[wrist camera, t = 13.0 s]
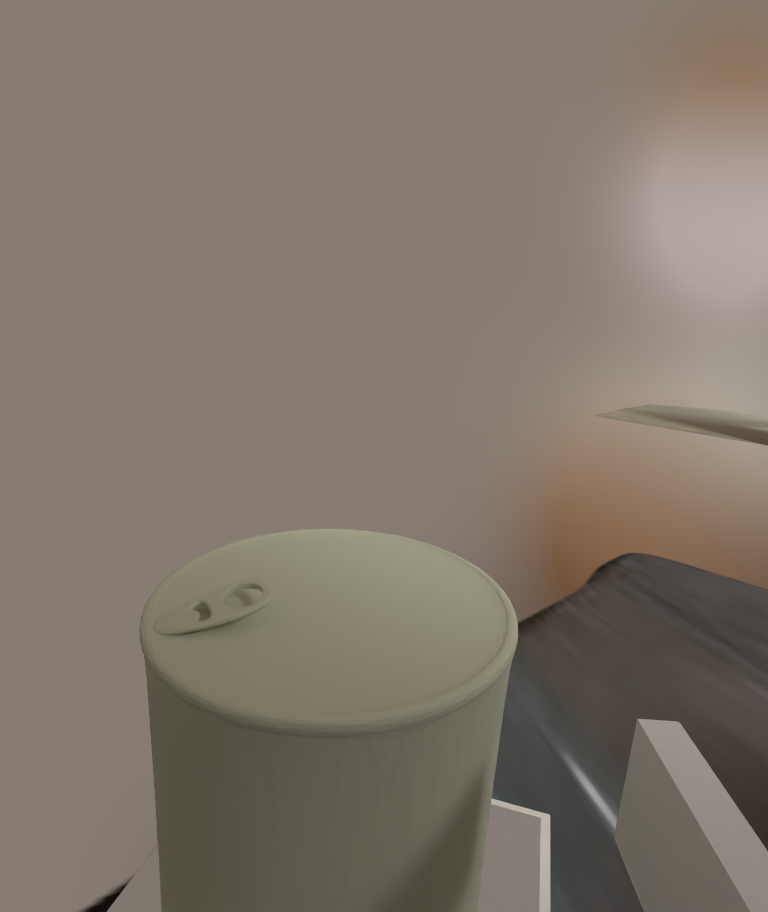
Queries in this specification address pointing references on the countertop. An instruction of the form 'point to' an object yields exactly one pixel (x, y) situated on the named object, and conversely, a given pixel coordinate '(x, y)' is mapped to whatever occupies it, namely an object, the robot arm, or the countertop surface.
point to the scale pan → (502, 881)
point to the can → (325, 724)
